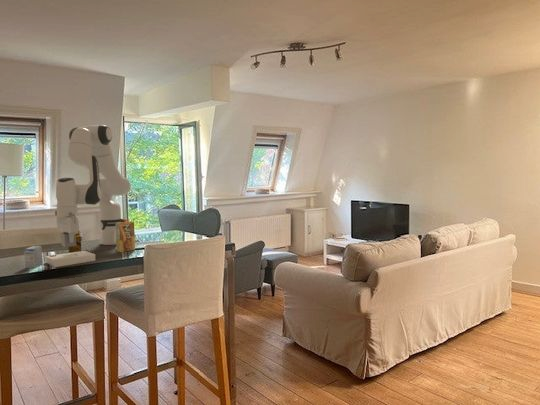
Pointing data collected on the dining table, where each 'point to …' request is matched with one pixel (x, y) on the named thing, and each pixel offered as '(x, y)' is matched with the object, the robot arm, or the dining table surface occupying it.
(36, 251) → the medicine box
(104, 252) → the dining table surface
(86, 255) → the socket
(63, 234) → the plug
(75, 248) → the condiment
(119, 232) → the candy box
